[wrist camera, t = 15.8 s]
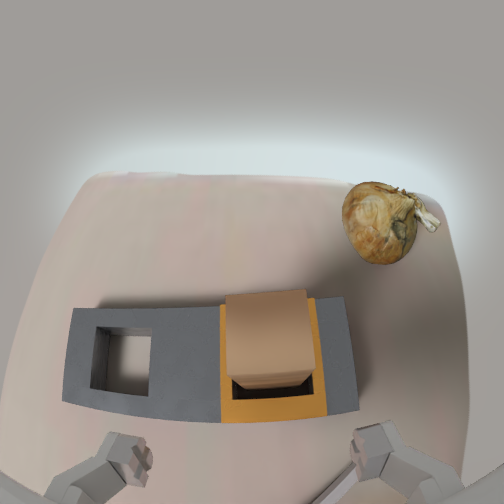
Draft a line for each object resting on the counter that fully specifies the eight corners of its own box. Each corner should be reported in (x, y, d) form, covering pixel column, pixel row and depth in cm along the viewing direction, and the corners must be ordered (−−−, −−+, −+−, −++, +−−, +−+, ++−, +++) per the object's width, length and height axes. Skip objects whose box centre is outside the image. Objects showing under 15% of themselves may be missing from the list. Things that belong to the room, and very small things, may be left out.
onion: (389, 208, 29) (410, 153, 22) (416, 270, 24) (453, 220, 18) (327, 215, 29) (338, 155, 22) (349, 283, 25) (373, 230, 18)
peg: (298, 386, 20) (315, 368, 12) (247, 390, 20) (226, 374, 12) (294, 339, 22) (306, 288, 14) (245, 343, 22) (225, 295, 14)
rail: (350, 410, 19) (360, 410, 16) (78, 403, 20) (59, 400, 17) (337, 307, 23) (344, 294, 21) (87, 317, 24) (71, 306, 22)
